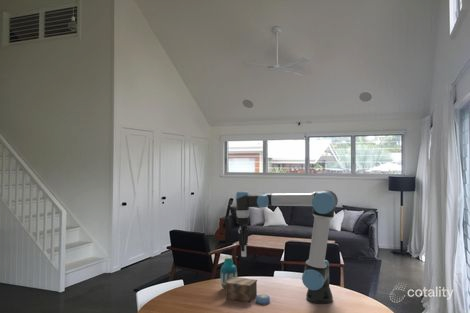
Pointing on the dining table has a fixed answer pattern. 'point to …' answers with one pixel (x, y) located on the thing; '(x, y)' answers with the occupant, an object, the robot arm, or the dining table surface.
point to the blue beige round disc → (262, 299)
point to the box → (241, 292)
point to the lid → (240, 282)
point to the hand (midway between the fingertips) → (243, 256)
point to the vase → (227, 271)
